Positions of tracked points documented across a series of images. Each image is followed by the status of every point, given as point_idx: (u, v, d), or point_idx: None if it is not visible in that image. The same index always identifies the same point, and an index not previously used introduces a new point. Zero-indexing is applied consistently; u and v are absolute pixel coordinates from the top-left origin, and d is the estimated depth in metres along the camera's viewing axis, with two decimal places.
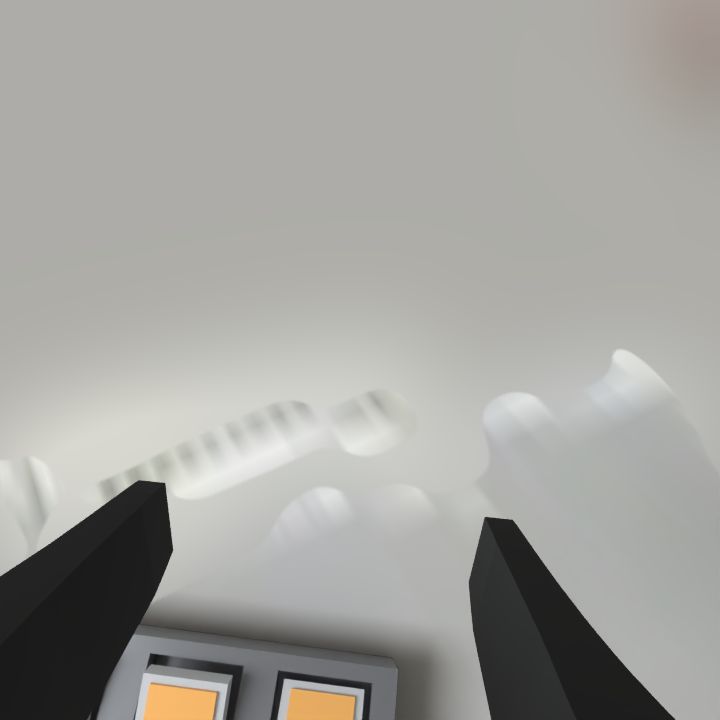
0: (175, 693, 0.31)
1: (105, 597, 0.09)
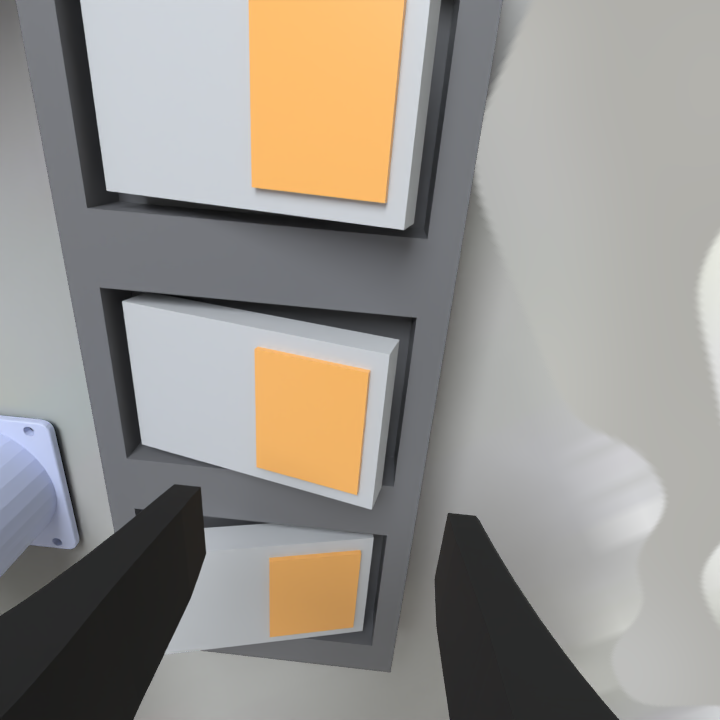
0: (351, 423, 0.14)
1: (148, 601, 0.09)
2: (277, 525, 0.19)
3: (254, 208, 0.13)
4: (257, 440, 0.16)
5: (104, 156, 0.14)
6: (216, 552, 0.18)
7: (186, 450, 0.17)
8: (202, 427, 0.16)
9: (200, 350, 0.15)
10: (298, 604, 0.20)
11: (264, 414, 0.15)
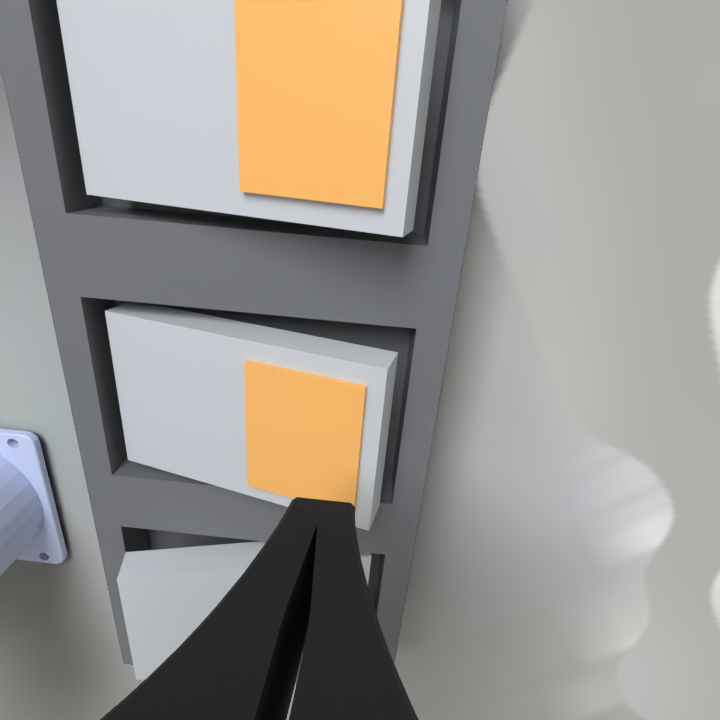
0: (347, 441, 0.13)
1: (297, 617, 0.08)
2: None
3: (242, 213, 0.12)
4: (248, 457, 0.15)
5: (84, 158, 0.13)
6: (206, 573, 0.17)
7: (174, 466, 0.16)
8: (190, 443, 0.16)
9: (187, 363, 0.14)
10: None
11: (255, 430, 0.14)
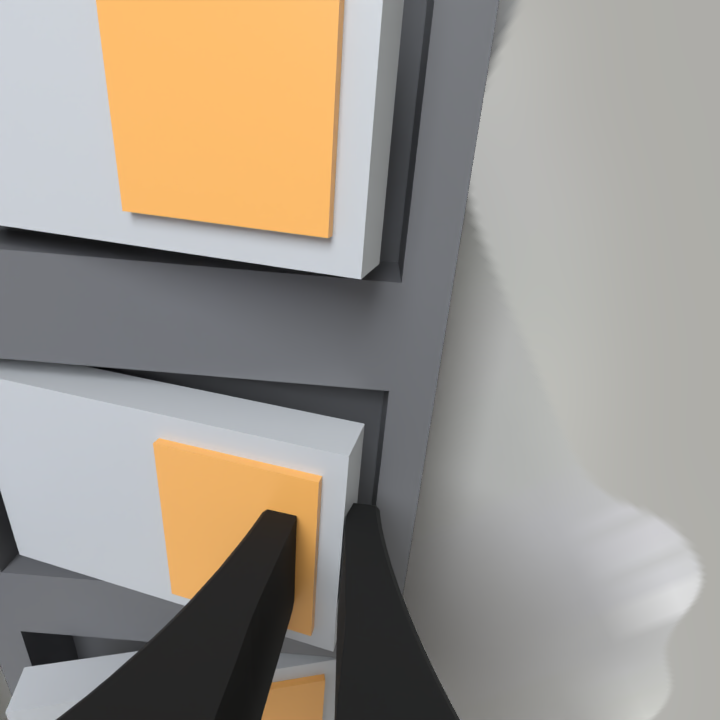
0: (298, 547, 0.10)
1: (272, 615, 0.08)
2: None
3: (133, 242, 0.08)
4: (169, 561, 0.11)
5: None
6: None
7: (78, 565, 0.12)
8: (95, 538, 0.12)
9: (80, 440, 0.11)
10: None
11: (175, 529, 0.11)
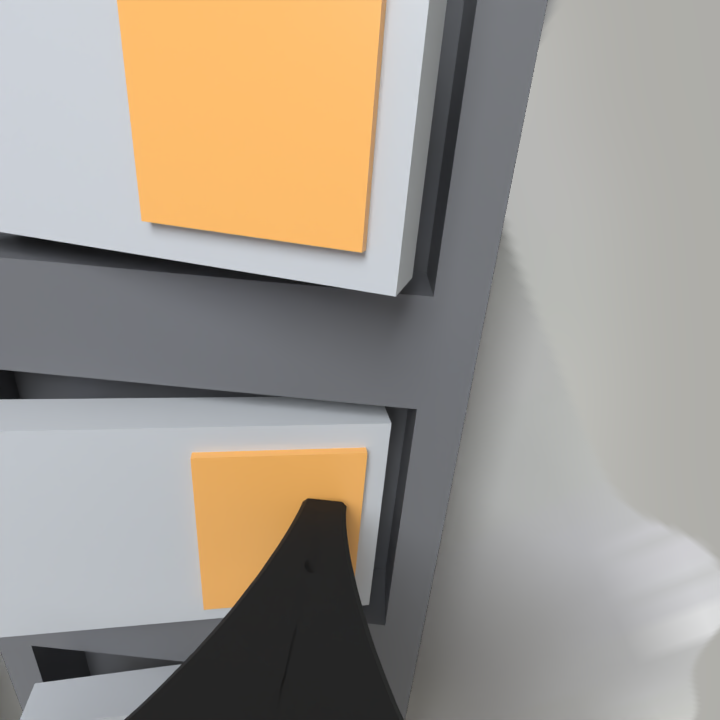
0: None
1: None
2: None
3: (151, 253, 0.08)
4: (203, 576, 0.11)
5: None
6: None
7: (74, 622, 0.11)
8: (102, 583, 0.11)
9: (86, 478, 0.10)
10: None
11: (212, 540, 0.10)
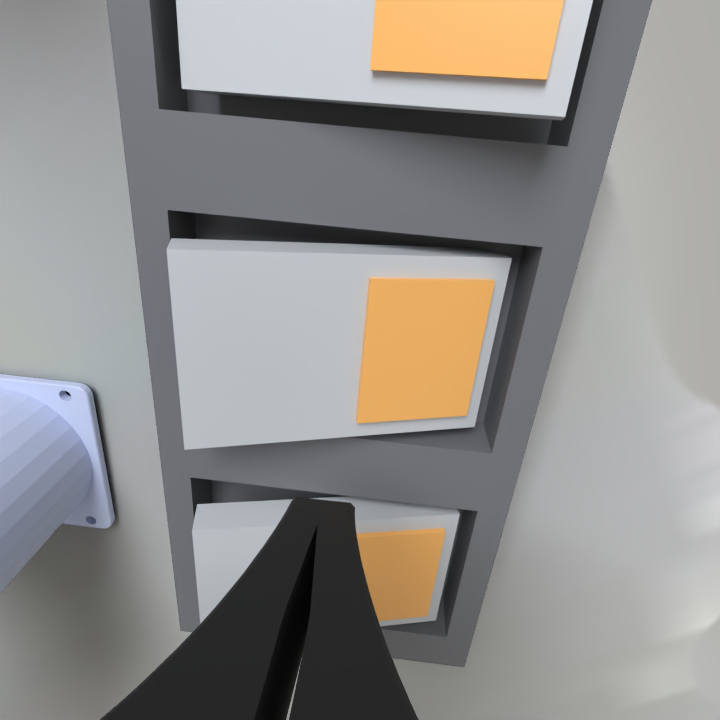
0: (471, 340, 0.14)
1: (297, 618, 0.08)
2: (350, 499, 0.17)
3: (368, 100, 0.10)
4: (362, 390, 0.14)
5: (182, 44, 0.11)
6: None
7: (256, 436, 0.14)
8: (283, 398, 0.13)
9: (290, 297, 0.12)
10: (371, 589, 0.17)
11: (374, 356, 0.13)
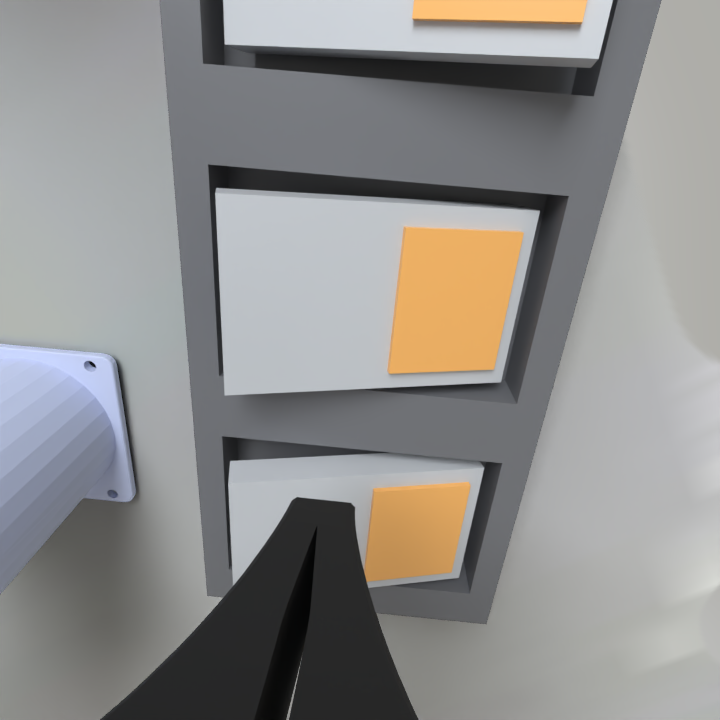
0: (500, 292, 0.14)
1: (297, 618, 0.08)
2: (377, 455, 0.17)
3: (409, 49, 0.11)
4: (394, 340, 0.14)
5: (226, 0, 0.12)
6: (318, 480, 0.16)
7: (292, 384, 0.14)
8: (319, 346, 0.14)
9: (328, 244, 0.13)
10: (398, 544, 0.18)
11: (407, 306, 0.14)
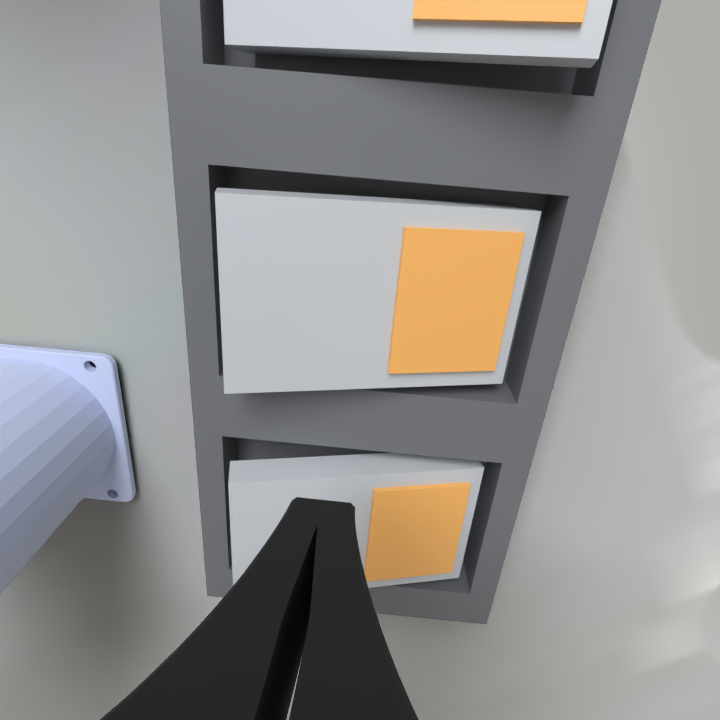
0: (500, 293, 0.14)
1: (297, 618, 0.08)
2: (377, 455, 0.17)
3: (409, 49, 0.11)
4: (394, 340, 0.14)
5: (226, 0, 0.12)
6: (318, 480, 0.16)
7: (291, 383, 0.14)
8: (318, 346, 0.14)
9: (328, 244, 0.13)
10: (398, 544, 0.18)
11: (407, 306, 0.14)
